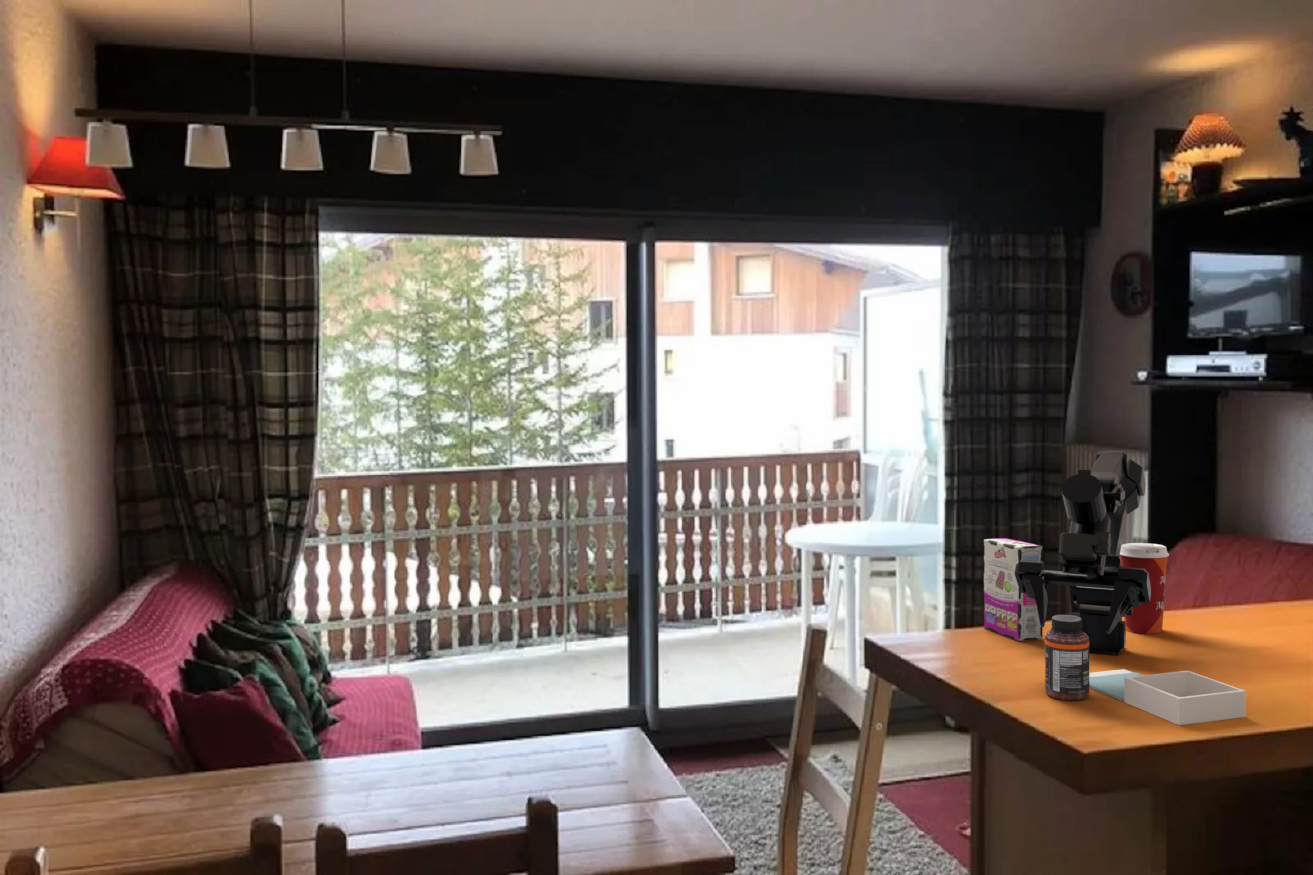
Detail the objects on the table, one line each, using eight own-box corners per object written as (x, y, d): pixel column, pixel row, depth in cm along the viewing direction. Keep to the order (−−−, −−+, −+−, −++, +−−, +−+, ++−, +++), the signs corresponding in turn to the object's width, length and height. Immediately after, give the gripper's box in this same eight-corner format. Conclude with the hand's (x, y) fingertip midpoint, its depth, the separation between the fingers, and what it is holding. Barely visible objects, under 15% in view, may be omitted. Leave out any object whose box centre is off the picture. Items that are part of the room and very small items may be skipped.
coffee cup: (1177, 635, 187) (1177, 549, 186) (1129, 636, 187) (1130, 550, 186) (1155, 624, 195) (1156, 541, 194) (1110, 624, 195) (1110, 542, 195)
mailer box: (1178, 725, 140) (1178, 698, 140) (1067, 677, 163) (1067, 655, 163) (1245, 716, 143) (1245, 690, 143) (1126, 671, 166) (1126, 648, 165)
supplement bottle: (1046, 688, 158) (1045, 611, 157) (1089, 691, 156) (1089, 614, 155) (1043, 699, 153) (1043, 620, 152) (1089, 703, 150) (1089, 623, 150)
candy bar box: (1044, 640, 186) (1044, 545, 185) (1019, 642, 184) (1019, 547, 184) (1006, 626, 197) (1006, 536, 196) (982, 628, 195) (981, 538, 194)
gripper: (1016, 508, 167) (999, 593, 158) (1148, 514, 157) (1137, 604, 149) (1028, 550, 174) (1012, 633, 166) (1155, 558, 165) (1145, 647, 156)
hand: (1074, 629), depth 159 cm, fingers open, 9 cm apart
